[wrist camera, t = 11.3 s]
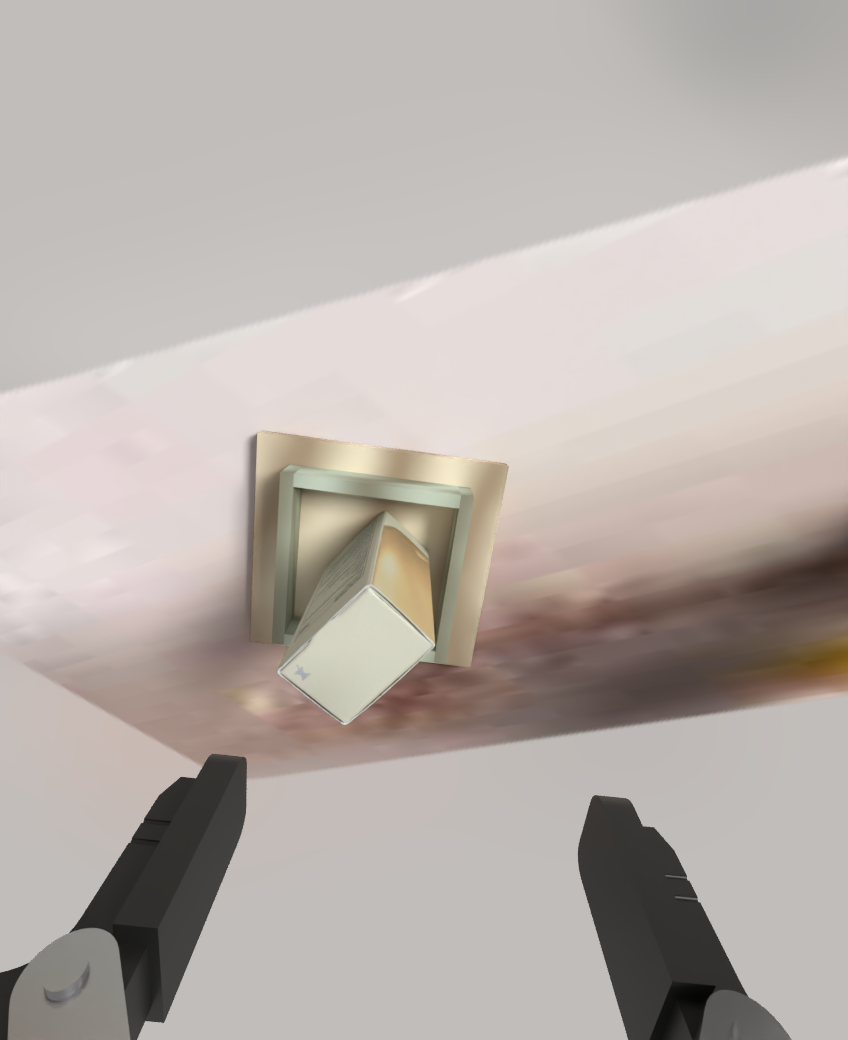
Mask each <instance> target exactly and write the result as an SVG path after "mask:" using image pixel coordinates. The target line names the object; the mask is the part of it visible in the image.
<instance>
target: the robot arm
mask: <svg viewBox="0 0 848 1040" xmlns="http://www.w3.org/2000/svg"><path fill="white" fill-rule="evenodd" d="M246 779H247V762H246V758H245V757H238V756H229V755H219V754H211V755H210V756H209V757H208V759H207V760H206V762H205V764H204V766H203V767H202V769H201V771H200V773H199V774H198V776H197V778H196V779H195V778H186V777H180V778H179V779H178V780H177V781H176V782H174V783H173V784H172V785H171V786H170V787H169V788H167V789H166V790H165V791H164V792H163V793H162V794H160V795H159V797H158V798H157V800H156V801H155V803H154V804H153V806H152V807H151V809H150V811H149V812H148V814H147V815H146V817H145V818H144V822H143V823H141V825H140V826H139V828H138V829H137V831H136V832H135V834H134V836H133V837H132V841H131V843H128V845H127V847H126V848H125V850H124V851H123V853H122V854H121V856H120V858H119V859H118V861H117V862H116V864H115V866H114V867H113V868H112V870H111V872H110V873H109V875H108V876H107V878H106V879H105V881H104V883H103V884H102V886H101V887H100V889H99V891H98V892H97V894H96V895H95V897H94V898H93V900H92V901H91V903H90V905H89V906H88V908H87V909H86V911H85V912H84V914H83V916H82V917H81V918H80V920H79V921H78V923H77V924H76V926H75V927H74V928H73V929H72V930H71V931H70V933H69V934H66V935H64V936H62V937H60V938H59V939H57V940H55V941H54V942H52V943H51V944H49V945H48V946H47V947H45V948H44V949H43V950H42V951H41V952H39V954H37V956H35V958H34V959H33V960H31V962H30V963H28V964H25V965H23V966H21V967H18V968H15V969H12V970H9V971H5V972H1V973H0V1040H137V1038H138V1036H139V1034H140V1031H141V1029H142V1027H143V1025H144V1022H145V1021H152V1022H162V1023H164V1021H165V1019H166V1017H167V1014H168V1011H169V1009H170V1007H171V1005H172V1002H173V1000H174V997H175V995H176V992H177V990H178V987H179V985H180V982H181V980H182V978H183V975H184V973H185V970H186V968H187V965H188V963H189V960H190V958H191V956H192V953H193V951H194V948H195V946H196V943H197V941H198V939H199V936H200V934H201V931H202V929H203V926H204V924H205V921H206V919H207V916H208V914H209V912H210V909H211V907H212V904H213V902H214V900H215V897H216V895H217V892H218V890H219V887H220V885H221V882H222V880H223V878H224V875H225V873H226V870H227V868H228V865H229V863H230V860H231V858H232V856H233V853H234V851H235V848H236V846H237V843H238V841H239V838H240V835H241V832H242V829H243V825H244V819H245V814H246ZM578 863H579V871H580V876H581V879H582V883H583V886H584V890H585V893H586V896H587V900H588V903H589V907H590V910H591V914H592V917H593V920H594V924H595V927H596V931H597V934H598V938H599V941H600V944H601V948H602V951H603V954H604V958H605V961H606V965H607V968H608V972H609V975H610V979H611V982H612V985H613V989H614V992H615V996H616V999H617V1003H618V1006H619V1009H620V1013H621V1016H622V1019H623V1023H624V1026H625V1030H626V1033H627V1037H628V1040H791V1038H790V1037H789V1035H788V1034H787V1032H786V1031H785V1030H784V1028H783V1027H782V1026H781V1024H780V1023H779V1022H778V1021H777V1020H776V1019H775V1018H774V1017H773V1016H772V1015H771V1014H770V1013H769V1012H768V1011H767V1010H766V1009H765V1008H764V1007H762V1006H761V1005H760V1004H759V1003H757V1002H756V1001H754V1000H753V999H751V998H749V997H748V995H747V994H746V992H745V990H744V988H743V987H742V985H741V983H740V981H739V979H738V977H737V975H736V973H735V971H734V969H733V967H732V965H731V963H730V961H729V959H728V957H727V955H726V953H725V951H724V949H723V947H722V945H721V943H720V941H719V939H718V937H717V935H716V933H715V931H714V929H713V927H712V925H711V923H710V921H709V919H708V917H707V915H706V913H705V911H704V909H703V907H702V905H701V903H699V902H698V900H697V895H696V893H695V891H694V889H693V887H692V885H691V883H690V881H688V880H687V875H686V873H685V871H684V869H683V867H682V865H681V863H680V861H679V859H678V857H677V855H676V853H675V851H674V850H673V849H672V848H671V846H670V845H669V844H668V843H667V842H666V841H665V840H664V838H663V837H662V836H661V835H660V834H659V833H658V832H657V830H656V829H655V828H653V827H643V826H642V824H641V821H640V819H639V817H638V815H637V813H636V811H635V808H634V807H633V805H632V803H631V802H630V801H629V800H628V799H626V798H616V797H607V796H606V797H605V796H597V795H595V796H593V797H592V799H591V802H590V806H589V809H588V813H587V817H586V820H585V824H584V827H583V831H582V835H581V838H580V842H579V847H578Z"/></svg>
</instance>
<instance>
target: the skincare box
mask: <svg viewBox="0 0 848 1040" xmlns="http://www.w3.org/2000/svg"><path fill="white" fill-rule="evenodd" d="M434 647H435V635H434V621H433V607H432V594H431V579H430V566H429V552H428V551H427V550H426V549H425V548H424V547H423V546H422V545H421V544H420V542H419V541H418V540H417V539H416V538H414V536H413V535H412V534H411V533H410V532H408V531H407V530H406V529H405V528H404V527H403V526H402V525H401V524H400V523H399V522H398V521H397V520H396V519H395V518H394V517H393V516H392V515H391V514H389V513H388V512H387V511H383V512H382V513H381V514H380V515H379V516H377V517H376V518H375V519H374V520H373V521H372V522H371V523H370V524H369V525H368V526H367V527H366V528H365V529H364V530H363V531H362V532H360V533H359V534H358V535H357V536H356V537H355V538H354V539H353V540H352V541H351V542H350V543H349V544H348V545H347V546H346V547H345V548H344V549H343V550H342V552H341V553H340V554H339V555H338V556H337V557H336V558H335V559H334V560H333V561H332V562H331V563H330V564H329V565H328V566H327V567H326V568H325V570H324V572H323V574H322V576H321V578H320V580H319V582H318V584H317V587H316V589H315V591H314V593H313V595H312V597H311V600H310V602H309V604H308V606H307V608H306V610H305V612H304V615H303V617H302V619H301V621H300V623H299V625H298V627H297V629H296V631H295V634H294V636H293V638H292V640H291V642H290V644H289V646H288V649H287V651H286V653H285V655H284V657H283V659H282V662H281V664H280V666H279V668H278V670H277V672H278V674H279V675H280V676H281V677H283V678H284V679H285V680H287V681H288V682H289V683H290V684H291V685H293V686H294V687H295V688H296V689H298V690H299V691H300V692H301V693H302V694H304V695H305V696H306V697H308V698H309V699H310V700H311V701H312V702H314V703H315V704H316V705H317V706H319V707H320V708H321V709H323V710H324V711H325V712H327V713H328V714H329V715H330V716H332V717H334V718H335V719H336V720H338V721H339V722H340V723H341V724H343V725H347V724H348V723H350V722H351V721H352V720H353V719H355V718H356V717H357V716H359V715H360V714H361V713H362V712H364V711H365V710H366V709H367V708H368V707H370V706H371V705H372V704H373V703H375V702H376V701H377V700H378V699H379V698H380V697H381V696H382V695H383V694H384V693H386V692H387V691H388V690H389V689H390V688H391V687H392V686H393V685H395V684H396V683H397V682H398V681H399V680H400V679H401V678H402V677H403V676H404V675H405V674H406V673H408V672H409V671H410V670H411V669H412V668H413V667H414V666H415V665H416V664H417V663H418V662H419V661H420V660H421V659H422V658H423V657H424V656H425V655H427V654H428V653H429V652H430V651H431V650H432V649H433V648H434Z"/></svg>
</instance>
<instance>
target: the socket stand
mask: <svg viewBox="0 0 848 1040" xmlns="http://www.w3.org/2000/svg"><path fill="white" fill-rule="evenodd" d="M507 472H508V465H507V464H504V463H497V462H490V461H482V460H475V459H467V458H460V457H453V456H445V455H438V454H431V453H423V452H416V451H408V450H401V449H394V448H386V447H379V446H372V445H364V444H357V443H349V442H342V441H335V440H327V439H320V438H313V437H305V436H298V435H290V434H283V433H276V432H268V431H260V432H258V433H257V456H256V485H255V513H254V542H253V570H252V599H251V628H250V642H257V643H266V644H275V645H283V646H289V644H290V642H291V640H292V638H293V636H294V634H295V631H296V629H297V627H298V625H299V623H300V621H301V619H302V617H303V615H304V612H305V610H306V608H307V606H308V604H309V602H310V600H311V597H312V595H313V593H314V591H315V589H316V587H317V584H318V582H319V580H320V578H321V576H322V574H323V572H324V570H325V568H326V567H327V566H328V565H329V564H330V563H331V562H332V561H333V560H334V559H335V558H336V557H337V556H338V555H339V554H340V553H341V552H342V550H343V549H344V548H345V547H346V546H347V545H348V544H349V543H350V542H351V541H352V540H353V539H354V538H355V537H356V536H357V535H358V534H359V533H360V532H362V531H363V530H364V529H365V528H366V527H367V526H368V525H369V524H370V523H371V522H372V521H373V520H374V519H375V518H376V517H377V516H379V515H380V514H381V513H382V512H383V511H387V512H388V513H389V514H391V515H392V516H393V517H394V518H395V519H396V520H397V521H398V522H399V523H400V524H401V525H402V526H403V527H404V528H405V529H406V530H407V531H408V532H410V533H411V534H412V535H413V536H414V538H416V539H417V540H418V541H419V542H420V544H421V545H422V546H423V547H424V548H425V549H426V550H427V551H428V552H429V566H430V579H431V594H432V607H433V621H434V635H435V647H434V648H433V649H432V650H431V651H430V652H429V653H428V654H427V655H425V656H424V657H423V658H422V659H421V660H420V662H429V663H438V664H446V665H455V666H463V667H470V666H471V661H472V656H473V650H474V645H475V640H476V635H477V630H478V624H479V619H480V614H481V609H482V603H483V598H484V593H485V588H486V582H487V577H488V572H489V567H490V561H491V556H492V551H493V546H494V541H495V535H496V530H497V525H498V520H499V514H500V509H501V504H502V499H503V493H504V488H505V483H506V478H507Z"/></svg>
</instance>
